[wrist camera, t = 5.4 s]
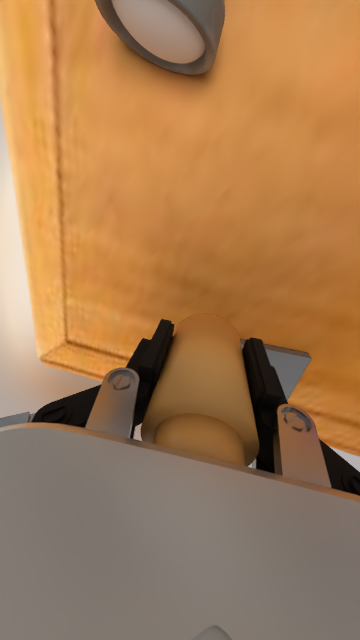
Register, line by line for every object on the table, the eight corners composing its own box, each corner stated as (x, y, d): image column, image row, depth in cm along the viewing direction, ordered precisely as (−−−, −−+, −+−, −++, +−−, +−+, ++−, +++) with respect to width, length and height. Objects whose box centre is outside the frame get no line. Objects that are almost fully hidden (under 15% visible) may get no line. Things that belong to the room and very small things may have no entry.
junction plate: (307, 353, 28) (314, 363, 26) (270, 419, 34) (274, 431, 33) (204, 331, 29) (203, 340, 27) (187, 400, 35) (186, 412, 33)
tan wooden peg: (249, 321, 11) (295, 479, 5) (229, 376, 13) (243, 541, 7) (177, 307, 11) (125, 437, 5) (168, 362, 13) (123, 508, 7)
